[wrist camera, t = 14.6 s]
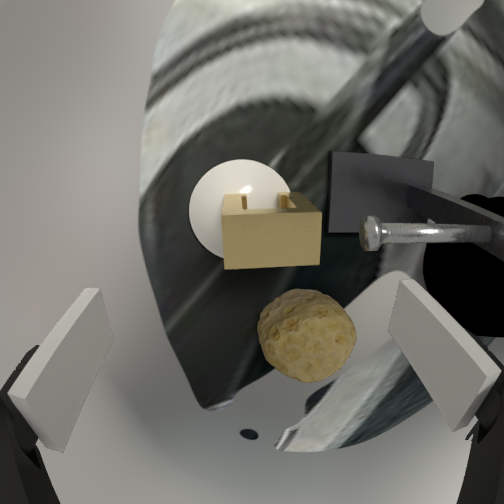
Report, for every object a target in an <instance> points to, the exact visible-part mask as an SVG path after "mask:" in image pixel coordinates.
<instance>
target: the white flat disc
mask: <svg viewBox="0 0 504 504" xmlns="http://www.w3.org/2000/svg"><path fill="white" fill-rule="evenodd" d="M278 192H290V190H289V188H288V186H287V184H286V183H285V181H284V180H283V179H282V178H281V176H280V175H279V174H278V173H276V172H275V171H274V170H273V169H271V168H270V167H268V166H266V165H264V164H262V163H260V162H257V161H252V160H244V159H239V160H231V161H227V162H224V163H221V164H219V165H217V166H215V167H214V168H212V169H211V170H209V171H208V172H207V173H206V174H205V175H204V176H203V177H202V178H201V179H200V181H199V182H198V183H197V185H196V187H195V189H194V191H193V193H192V196H191V200H190V205H189V216H190V222H191V226H192V229H193V231H194V233H195V235H196V237H197V238H198V240H199V241H200V242H201V244H202V245H203V246H204V247H205V248H206V249H208V250H209V251H210V252H212V253H214V254H215V255H217V256H219V257H222V258H224V254H223V238H222V222H221V213H222V207H223V201H224V195H225V194H239V193H246V195H247V209H269V208H278Z"/></svg>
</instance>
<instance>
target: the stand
mask: <svg viewBox="0 0 504 504" xmlns="http://www.w3.org/2000/svg"><path fill="white" fill-rule="evenodd" d="M433 167H434V162H432V161H427V160H420V159H412V158H405V157H396V156H387V155H378V154H367V153H355V152H342V151H330V153H329V180H328V200H327V216H326V230H327V232H359V239H360V244H361V246H362V248H363V250H365V251H377V250H378V249H379V248H380V246H381V244H389V243H460V242H472V243H474V244H476V245H478V246H479V247H481V248H483V249H484V250H486V251H487V252H489V253H491V254H492V255H494V256H496V257H497V258H499V259H500V260H502V261H503V262H504V217H502V216H499V215H497V214H495V213H493V212H490V211H488V210H486V209H483V208H481V207H479V206H476V205H474V204H471V203H469V202H466V201H464V200H461V199H459V198H456V197H454V196H451V195H448V194H446V193H443V192H440V191H438V190H435V189H432V179H433ZM428 218H429V219H431V220H433V221H435V222H437V223H438V224H427V221H428Z"/></svg>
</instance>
